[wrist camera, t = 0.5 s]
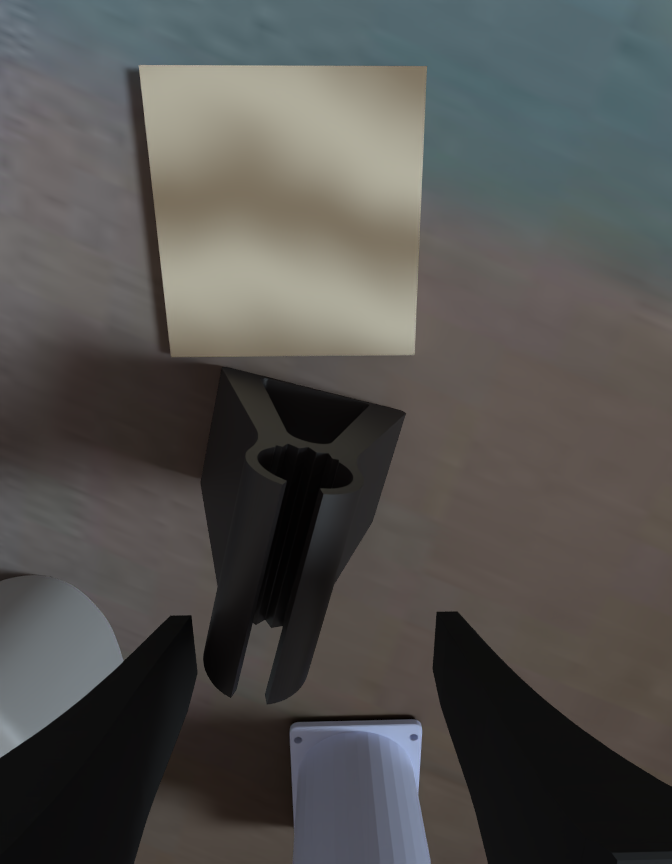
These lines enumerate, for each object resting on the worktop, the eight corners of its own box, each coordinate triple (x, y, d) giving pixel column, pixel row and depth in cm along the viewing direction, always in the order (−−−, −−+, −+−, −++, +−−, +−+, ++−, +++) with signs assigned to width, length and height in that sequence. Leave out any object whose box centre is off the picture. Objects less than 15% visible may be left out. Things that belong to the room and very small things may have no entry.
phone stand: (202, 479, 22) (64, 667, 10) (224, 365, 20) (91, 438, 9) (371, 518, 23) (417, 733, 11) (405, 411, 21) (499, 534, 10)
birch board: (411, 353, 20) (414, 354, 20) (176, 355, 20) (171, 356, 19) (422, 77, 17) (426, 66, 17) (147, 76, 17) (138, 65, 16)
